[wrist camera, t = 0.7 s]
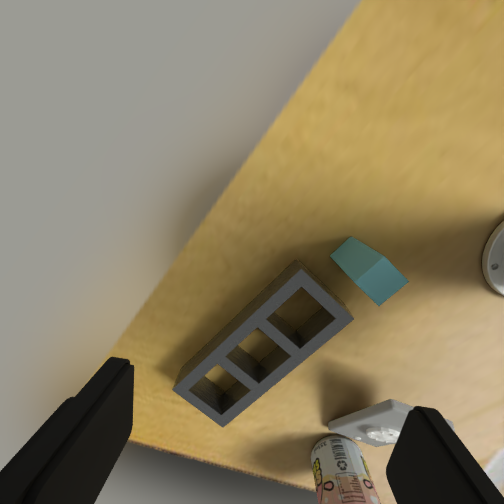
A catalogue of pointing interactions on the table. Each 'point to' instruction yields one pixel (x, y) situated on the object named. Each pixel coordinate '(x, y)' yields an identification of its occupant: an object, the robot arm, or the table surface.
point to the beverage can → (341, 473)
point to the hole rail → (277, 362)
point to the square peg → (369, 270)
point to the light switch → (375, 423)
